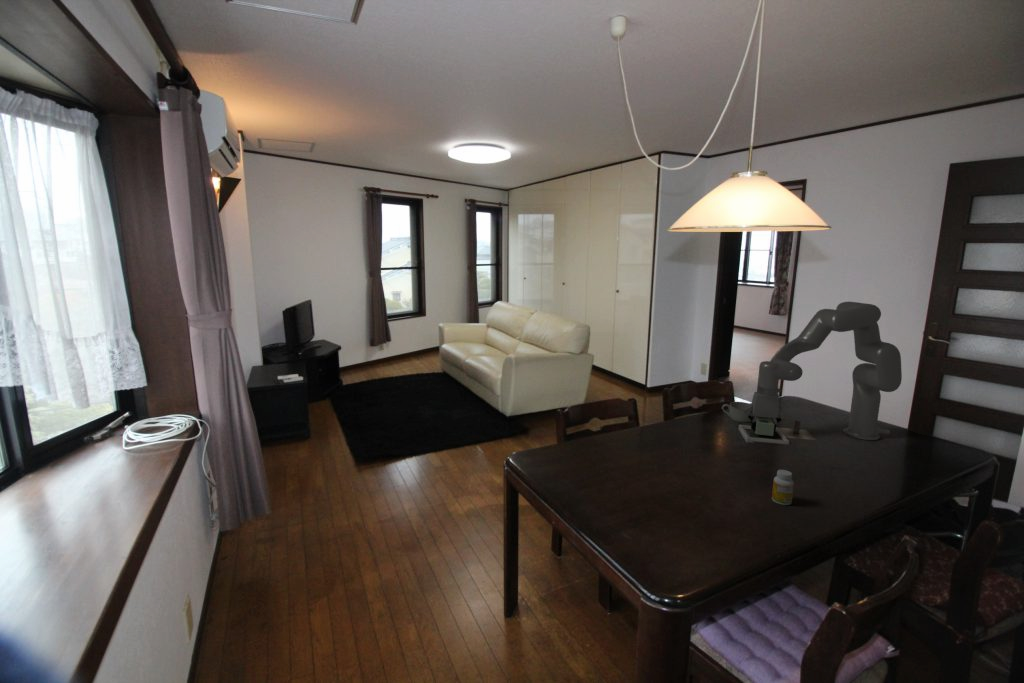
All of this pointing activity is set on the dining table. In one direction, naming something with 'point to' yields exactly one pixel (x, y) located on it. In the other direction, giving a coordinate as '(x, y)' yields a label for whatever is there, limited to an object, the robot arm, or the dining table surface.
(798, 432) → the wooden peg base
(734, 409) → the teacup
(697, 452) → the dining table surface
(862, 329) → the robot arm
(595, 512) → the dining table surface
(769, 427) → the green hollow square block
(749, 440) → the tray
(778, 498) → the supplement bottle
